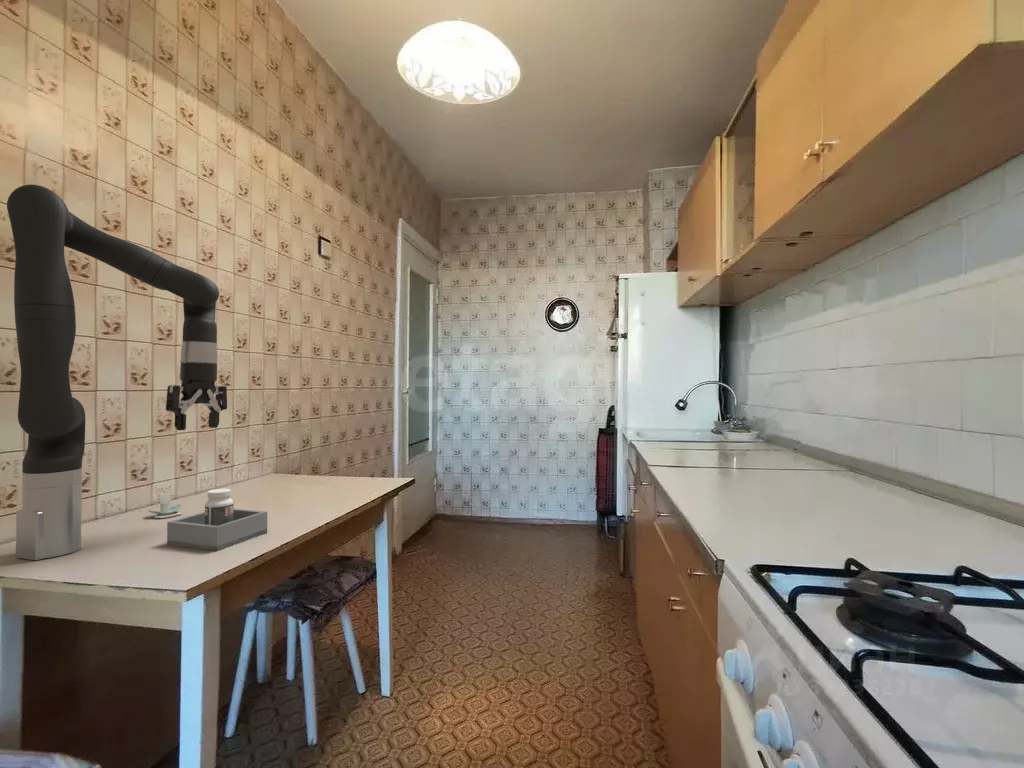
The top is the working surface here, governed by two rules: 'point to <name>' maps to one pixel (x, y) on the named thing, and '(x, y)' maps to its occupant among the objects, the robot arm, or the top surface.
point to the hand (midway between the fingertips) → (197, 428)
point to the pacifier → (166, 507)
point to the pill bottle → (218, 507)
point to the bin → (216, 530)
